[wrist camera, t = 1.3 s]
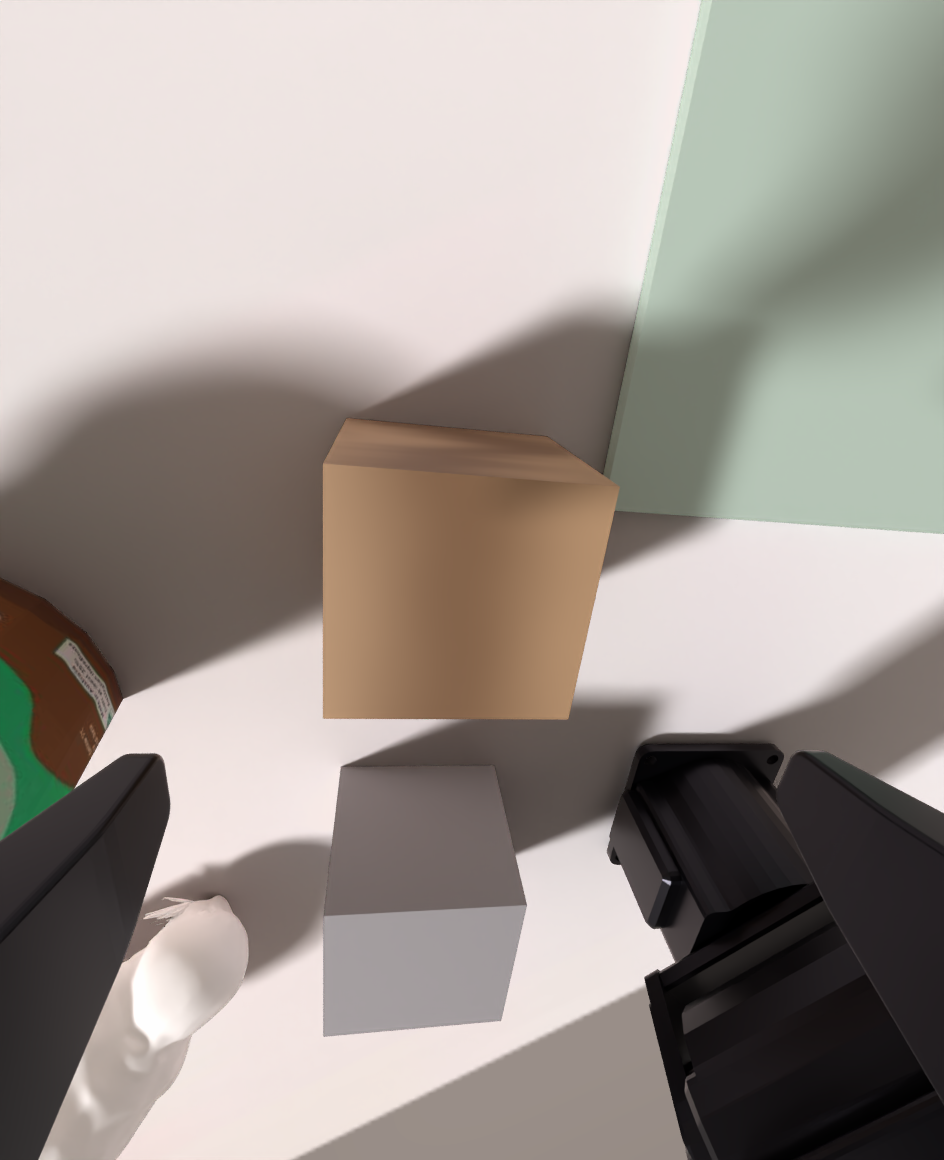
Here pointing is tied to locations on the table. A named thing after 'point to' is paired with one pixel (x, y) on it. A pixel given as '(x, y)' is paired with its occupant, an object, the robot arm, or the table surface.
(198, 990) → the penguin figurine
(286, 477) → the table surface
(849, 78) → the sage mat
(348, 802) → the medium grey block
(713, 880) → the robot arm
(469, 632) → the tan cube
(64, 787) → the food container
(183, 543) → the table surface
